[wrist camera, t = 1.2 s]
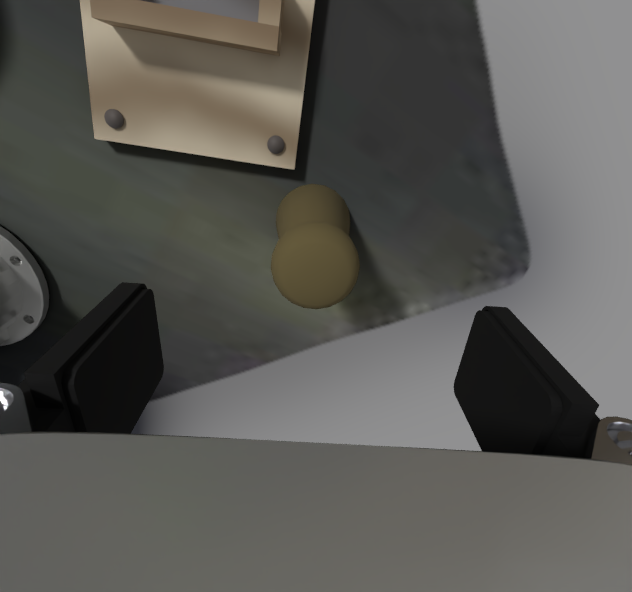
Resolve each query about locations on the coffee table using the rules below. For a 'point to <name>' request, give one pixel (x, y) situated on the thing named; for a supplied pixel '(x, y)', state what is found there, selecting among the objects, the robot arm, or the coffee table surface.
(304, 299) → the olive tall rounded piece
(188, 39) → the pocket board
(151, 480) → the robot arm
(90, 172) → the coffee table surface
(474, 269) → the coffee table surface
